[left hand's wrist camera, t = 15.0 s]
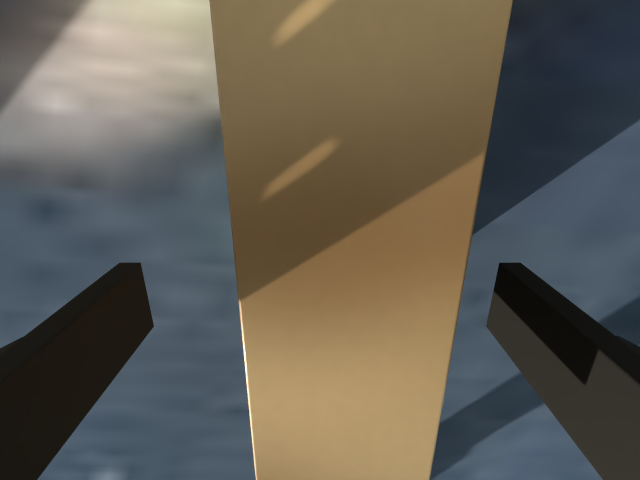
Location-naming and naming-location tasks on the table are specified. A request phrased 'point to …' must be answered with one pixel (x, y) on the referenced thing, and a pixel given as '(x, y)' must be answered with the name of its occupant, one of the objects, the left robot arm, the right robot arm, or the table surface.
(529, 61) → the table surface
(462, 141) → the wooden beam
